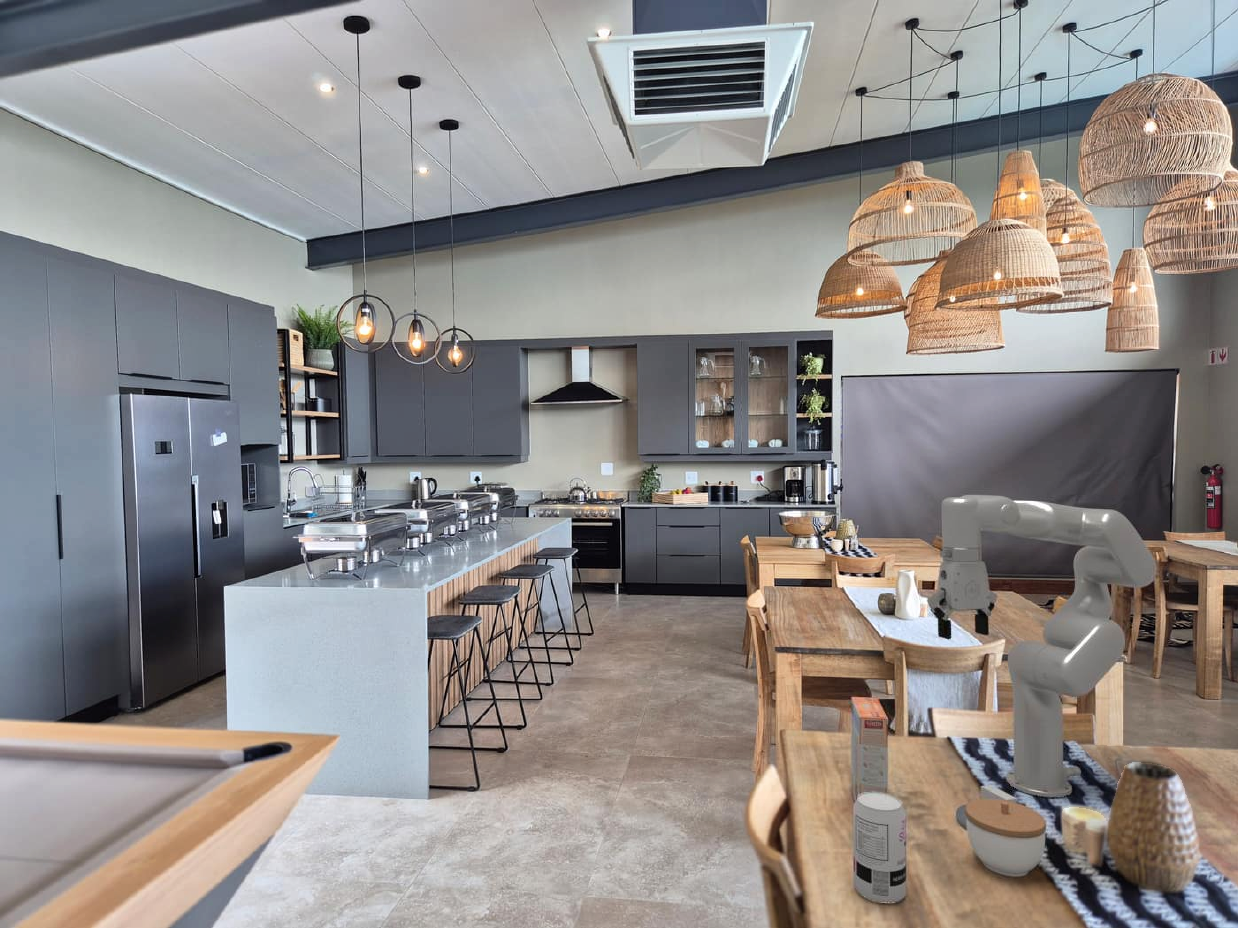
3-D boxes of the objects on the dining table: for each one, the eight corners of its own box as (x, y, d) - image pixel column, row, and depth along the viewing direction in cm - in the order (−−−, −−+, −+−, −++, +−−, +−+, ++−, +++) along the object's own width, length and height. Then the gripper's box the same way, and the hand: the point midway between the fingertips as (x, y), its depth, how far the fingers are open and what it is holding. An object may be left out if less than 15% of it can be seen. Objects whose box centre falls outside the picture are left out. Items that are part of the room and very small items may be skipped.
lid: (1060, 838, 142) (1061, 804, 142) (997, 849, 137) (998, 813, 137) (998, 804, 156) (998, 773, 156) (939, 812, 151) (939, 780, 151)
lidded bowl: (976, 840, 140) (975, 781, 140) (1053, 863, 132) (1052, 800, 132) (956, 868, 130) (956, 804, 130) (1038, 894, 122) (1037, 826, 122)
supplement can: (845, 879, 127) (845, 790, 127) (892, 877, 127) (892, 789, 128) (865, 907, 119) (865, 812, 119) (915, 904, 119) (915, 810, 120)
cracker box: (889, 824, 147) (889, 717, 147) (857, 821, 148) (857, 715, 148) (879, 794, 160) (879, 696, 161) (850, 792, 162) (850, 695, 162)
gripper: (940, 559, 152) (942, 643, 152) (1008, 555, 158) (1009, 636, 157) (915, 555, 160) (917, 635, 159) (980, 551, 165) (982, 629, 165)
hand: (963, 635), depth 158 cm, fingers open, 9 cm apart
